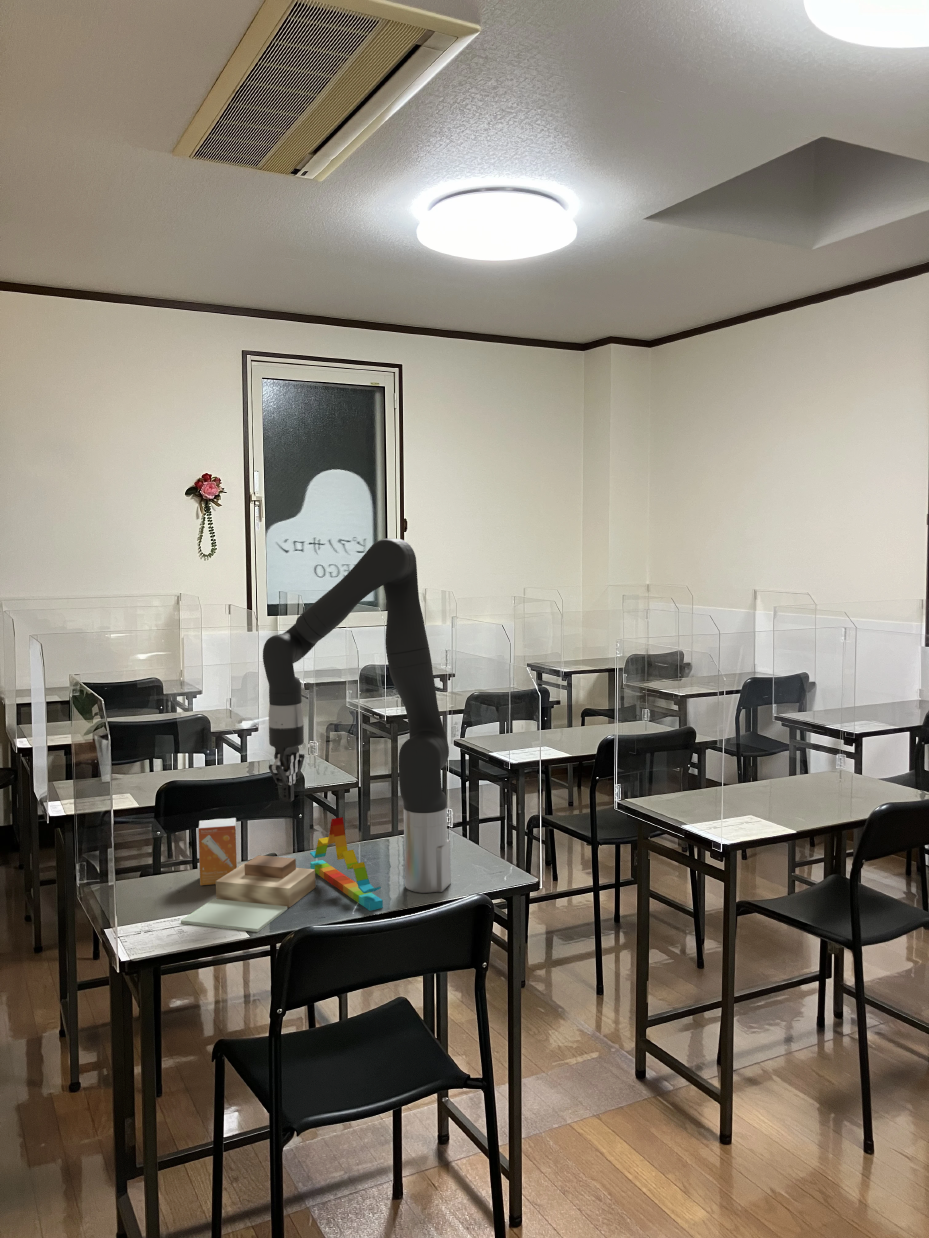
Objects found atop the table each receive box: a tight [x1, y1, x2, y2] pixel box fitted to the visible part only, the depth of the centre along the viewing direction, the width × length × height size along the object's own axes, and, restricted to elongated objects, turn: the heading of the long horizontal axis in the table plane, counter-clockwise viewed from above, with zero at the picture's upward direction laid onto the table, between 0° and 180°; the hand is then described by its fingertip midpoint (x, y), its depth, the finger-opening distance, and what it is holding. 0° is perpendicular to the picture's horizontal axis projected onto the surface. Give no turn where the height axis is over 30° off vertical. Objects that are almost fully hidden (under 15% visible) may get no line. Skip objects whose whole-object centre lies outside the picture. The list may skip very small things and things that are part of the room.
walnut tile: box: [243, 855, 297, 879], centre depth 211 cm, size 9×6×2 cm, turn 73°
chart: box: [309, 816, 384, 912], centre depth 212 cm, size 30×3×15 cm, turn 32°
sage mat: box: [180, 898, 288, 933], centre depth 197 cm, size 17×12×1 cm
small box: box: [198, 817, 238, 886], centre depth 218 cm, size 8×6×13 cm
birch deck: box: [215, 862, 316, 908], centre depth 209 cm, size 17×12×4 cm
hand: (288, 800), depth 219 cm, fingers closed
